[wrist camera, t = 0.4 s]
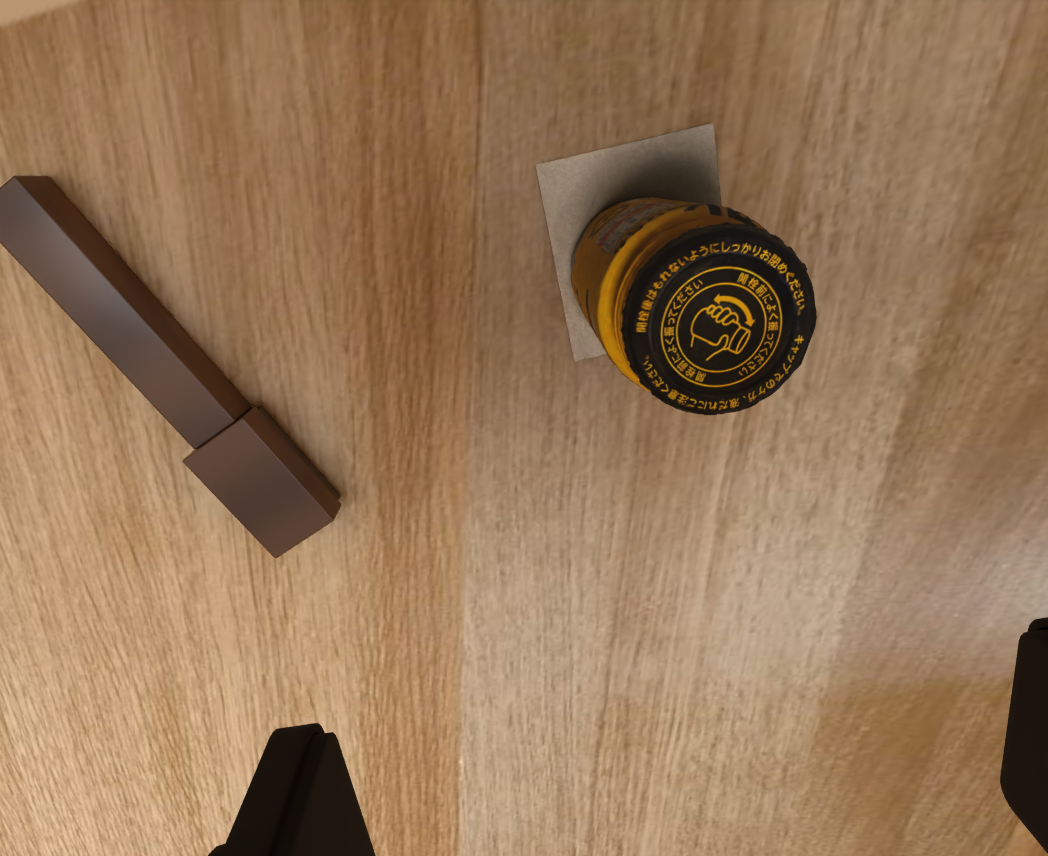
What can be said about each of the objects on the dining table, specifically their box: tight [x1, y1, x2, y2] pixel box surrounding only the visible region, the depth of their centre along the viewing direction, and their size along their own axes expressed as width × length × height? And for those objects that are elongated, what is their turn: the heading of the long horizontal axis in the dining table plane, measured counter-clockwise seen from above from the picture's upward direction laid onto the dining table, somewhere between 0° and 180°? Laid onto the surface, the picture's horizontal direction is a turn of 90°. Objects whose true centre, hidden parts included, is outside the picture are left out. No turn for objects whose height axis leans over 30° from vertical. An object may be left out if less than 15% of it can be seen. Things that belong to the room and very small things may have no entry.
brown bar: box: [0, 176, 341, 558], centre depth 29 cm, size 18×4×2 cm, turn 34°
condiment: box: [536, 123, 817, 415], centre depth 23 cm, size 7×8×12 cm
